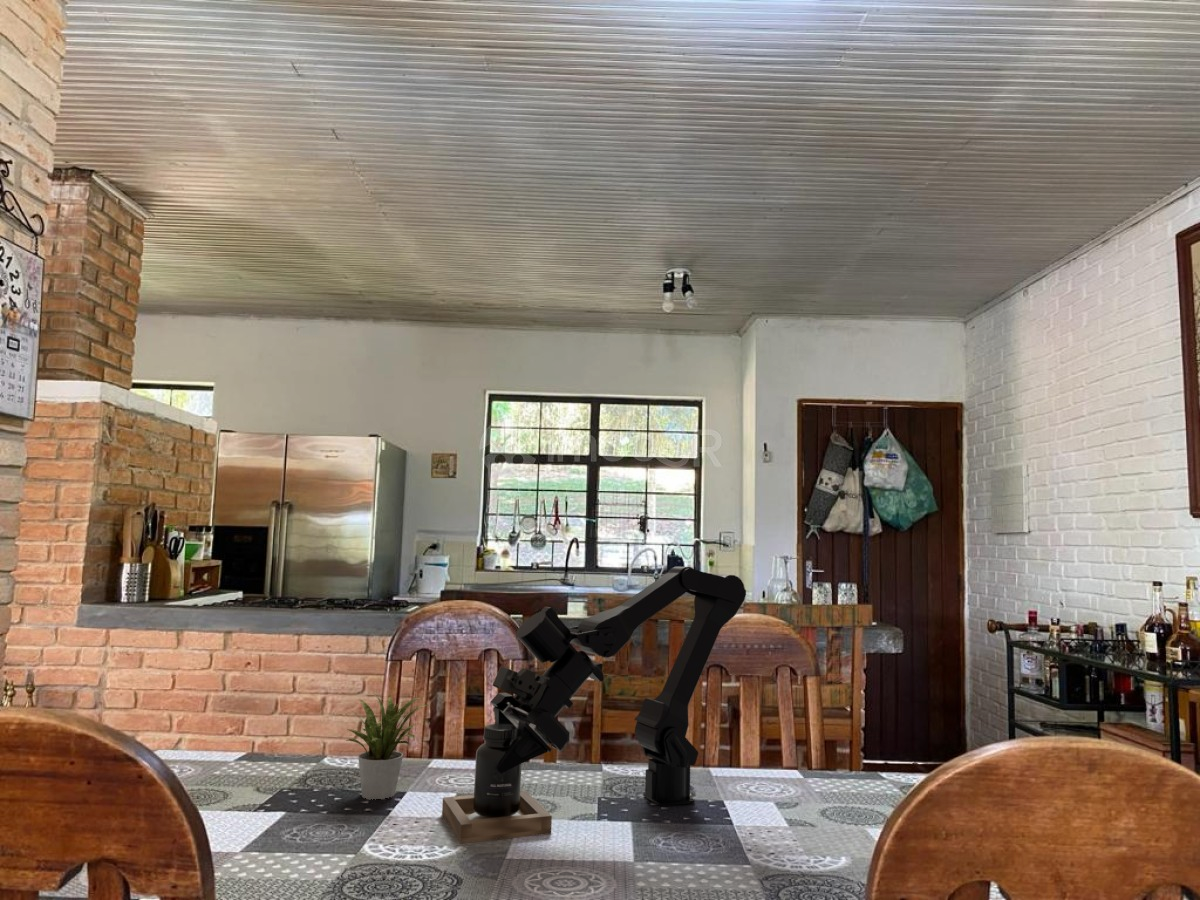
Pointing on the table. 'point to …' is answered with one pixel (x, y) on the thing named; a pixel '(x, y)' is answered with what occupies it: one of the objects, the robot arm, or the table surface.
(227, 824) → the table surface
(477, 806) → the supplement bottle
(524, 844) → the table surface
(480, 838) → the holder
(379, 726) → the house plant
